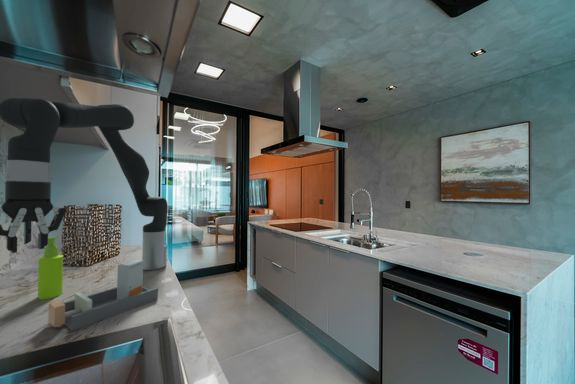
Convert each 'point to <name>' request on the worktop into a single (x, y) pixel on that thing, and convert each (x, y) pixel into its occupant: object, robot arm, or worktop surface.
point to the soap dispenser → (50, 272)
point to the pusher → (58, 311)
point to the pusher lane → (107, 306)
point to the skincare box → (129, 279)
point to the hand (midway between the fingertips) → (27, 250)
